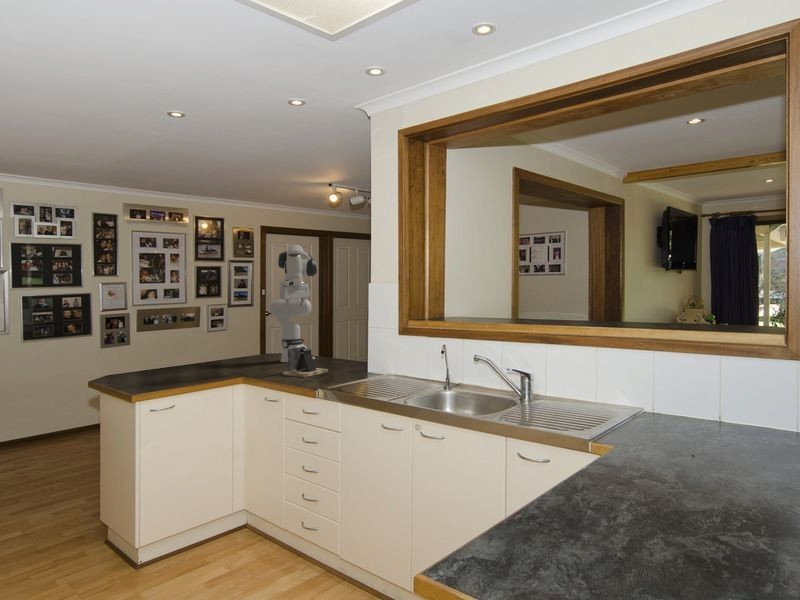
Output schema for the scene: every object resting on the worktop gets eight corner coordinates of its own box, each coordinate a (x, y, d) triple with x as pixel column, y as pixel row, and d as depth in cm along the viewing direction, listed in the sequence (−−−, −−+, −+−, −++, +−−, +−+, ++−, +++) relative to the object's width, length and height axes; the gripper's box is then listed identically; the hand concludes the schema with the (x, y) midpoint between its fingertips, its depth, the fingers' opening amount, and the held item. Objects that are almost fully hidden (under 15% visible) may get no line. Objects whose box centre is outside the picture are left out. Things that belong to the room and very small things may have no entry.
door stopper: (316, 370, 289) (315, 348, 288) (308, 372, 284) (308, 349, 283) (303, 369, 293) (303, 347, 293) (296, 370, 288) (295, 348, 288)
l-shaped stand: (306, 369, 301) (306, 345, 300) (327, 371, 291) (327, 347, 291) (282, 374, 286) (282, 349, 285) (304, 377, 277) (303, 351, 276)
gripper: (304, 281, 311) (304, 305, 312) (277, 283, 294) (278, 307, 295) (311, 281, 307) (312, 305, 308) (285, 283, 291) (286, 308, 292)
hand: (295, 306), depth 302 cm, fingers open, 8 cm apart
